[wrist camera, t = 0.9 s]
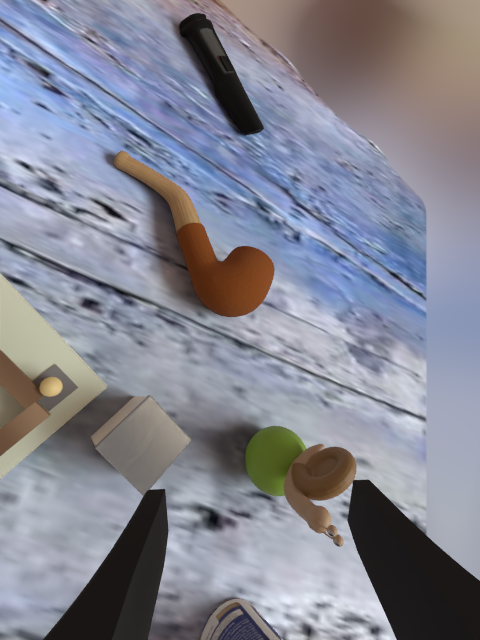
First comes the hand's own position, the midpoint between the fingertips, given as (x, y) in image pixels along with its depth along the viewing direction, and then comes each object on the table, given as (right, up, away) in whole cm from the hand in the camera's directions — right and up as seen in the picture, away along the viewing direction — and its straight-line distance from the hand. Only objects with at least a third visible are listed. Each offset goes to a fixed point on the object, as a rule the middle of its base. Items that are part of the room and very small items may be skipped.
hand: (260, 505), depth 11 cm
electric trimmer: (-3, +36, +25) cm, 44 cm away
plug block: (-9, -2, +12) cm, 15 cm away
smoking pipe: (-7, +14, +18) cm, 23 cm away
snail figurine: (+1, -6, +16) cm, 18 cm away
